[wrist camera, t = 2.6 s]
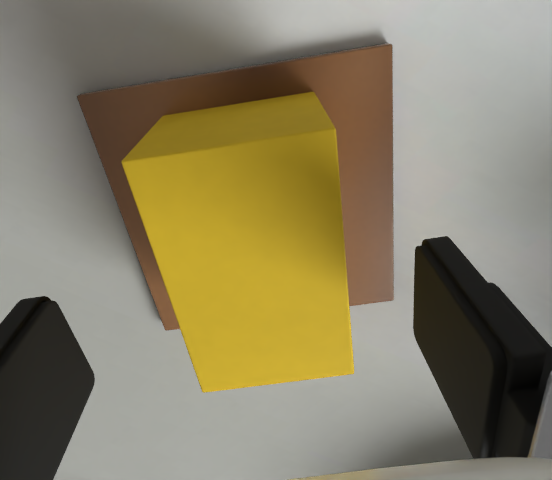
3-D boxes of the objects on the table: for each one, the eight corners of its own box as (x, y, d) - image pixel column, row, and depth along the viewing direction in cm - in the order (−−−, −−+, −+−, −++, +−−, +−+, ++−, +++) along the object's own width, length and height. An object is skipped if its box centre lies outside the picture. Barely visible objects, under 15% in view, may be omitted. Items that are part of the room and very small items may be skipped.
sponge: (314, 91, 13) (336, 127, 9) (333, 289, 17) (354, 374, 13) (162, 115, 13) (119, 161, 9) (215, 305, 17) (202, 393, 13)
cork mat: (389, 42, 13) (392, 43, 12) (391, 294, 18) (394, 300, 17) (81, 93, 13) (76, 96, 13) (166, 324, 18) (165, 331, 18)
